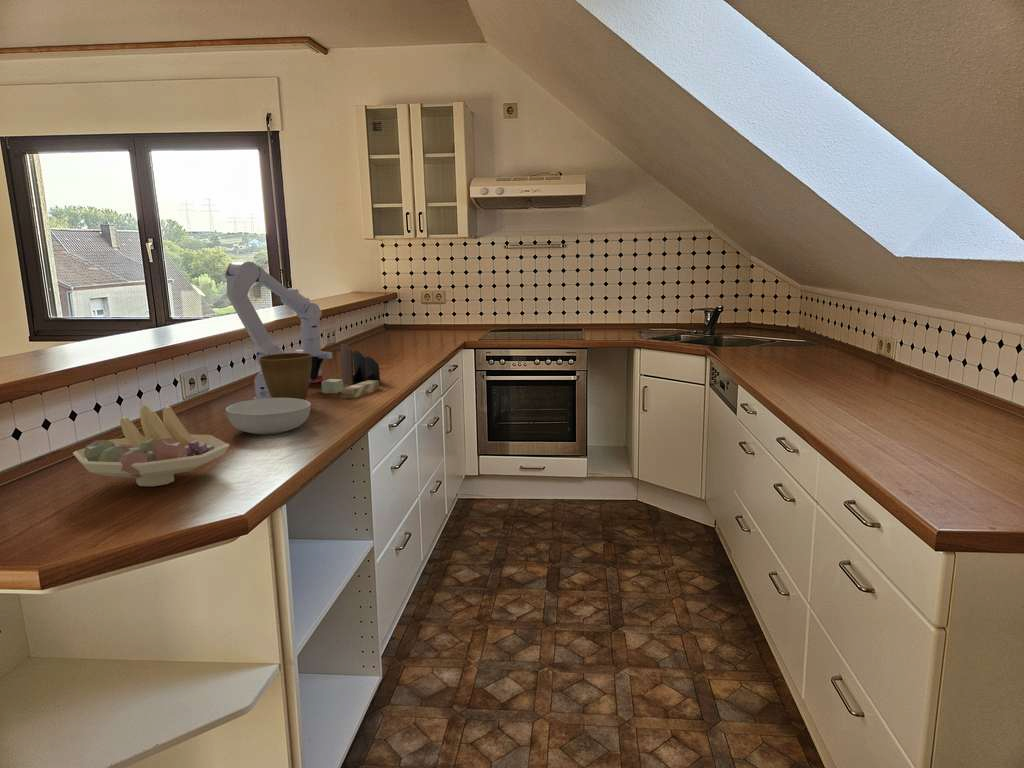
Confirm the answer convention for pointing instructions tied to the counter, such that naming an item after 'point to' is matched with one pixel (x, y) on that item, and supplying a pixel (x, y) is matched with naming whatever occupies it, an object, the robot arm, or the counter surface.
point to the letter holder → (357, 366)
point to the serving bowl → (268, 415)
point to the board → (360, 389)
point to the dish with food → (151, 450)
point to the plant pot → (287, 374)
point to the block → (332, 385)
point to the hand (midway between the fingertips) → (314, 379)
